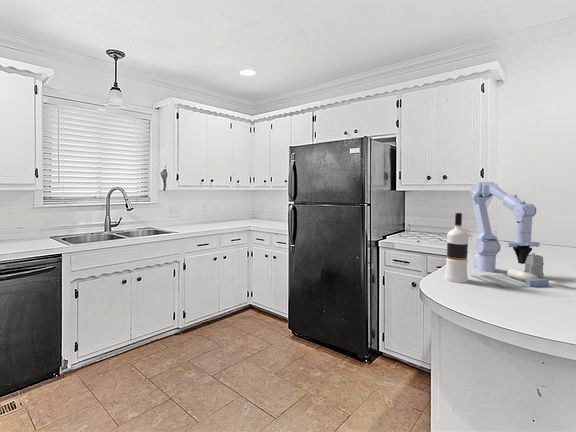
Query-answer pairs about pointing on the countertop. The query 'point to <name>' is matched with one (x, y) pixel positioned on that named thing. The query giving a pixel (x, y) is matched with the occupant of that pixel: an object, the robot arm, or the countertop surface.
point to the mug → (534, 265)
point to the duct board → (512, 281)
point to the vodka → (457, 253)
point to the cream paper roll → (520, 275)
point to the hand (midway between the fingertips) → (521, 263)
